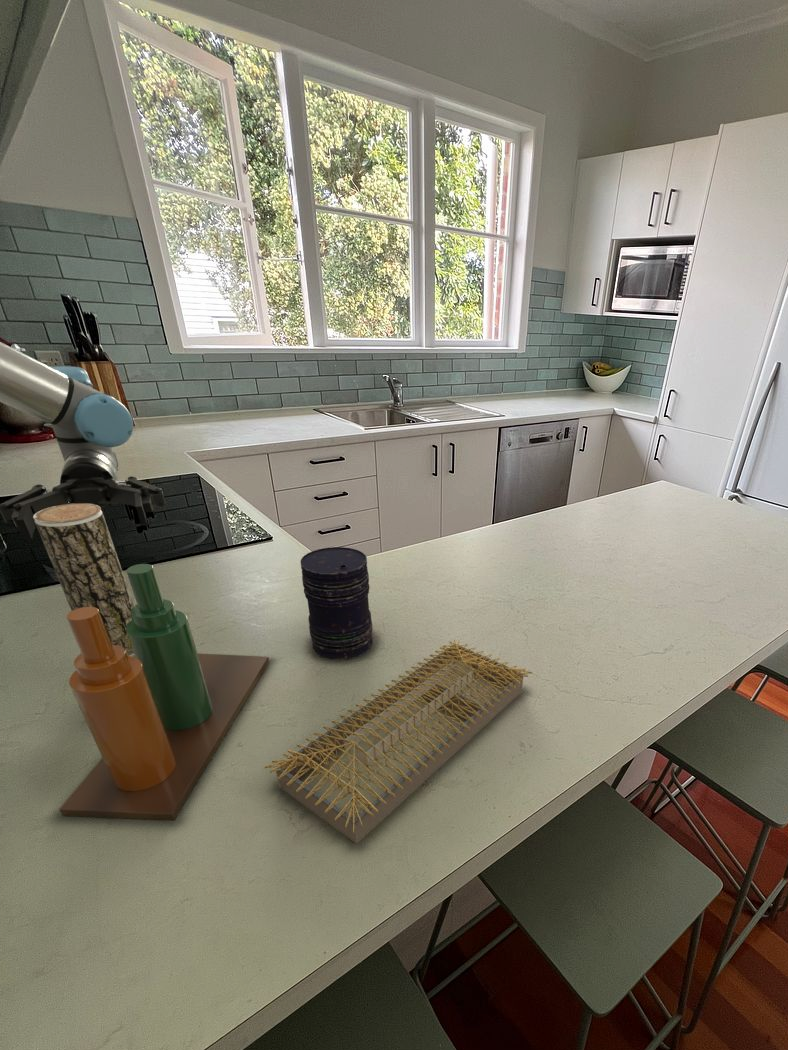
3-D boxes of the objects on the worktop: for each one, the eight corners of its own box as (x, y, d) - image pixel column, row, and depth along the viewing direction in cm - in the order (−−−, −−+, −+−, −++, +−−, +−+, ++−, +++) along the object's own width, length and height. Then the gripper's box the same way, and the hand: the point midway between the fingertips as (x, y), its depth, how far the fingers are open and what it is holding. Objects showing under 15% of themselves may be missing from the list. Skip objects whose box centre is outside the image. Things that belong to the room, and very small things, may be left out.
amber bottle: (101, 790, 60) (24, 629, 49) (133, 749, 65) (70, 595, 54) (159, 792, 60) (95, 632, 49) (186, 751, 66) (134, 598, 54)
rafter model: (453, 656, 87) (454, 623, 84) (530, 691, 80) (534, 657, 77) (268, 788, 63) (259, 749, 59) (356, 854, 56) (351, 814, 53)
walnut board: (62, 815, 58) (58, 809, 58) (191, 658, 83) (189, 652, 83) (174, 820, 58) (172, 814, 58) (269, 661, 84) (268, 656, 83)
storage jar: (301, 639, 89) (288, 556, 81) (354, 622, 95) (347, 542, 87) (329, 668, 83) (318, 580, 75) (384, 647, 88) (380, 563, 80)
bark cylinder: (165, 679, 79) (109, 513, 65) (113, 700, 74) (42, 527, 61) (145, 660, 82) (90, 499, 69) (95, 679, 78) (25, 511, 65)
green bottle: (148, 729, 68) (92, 579, 57) (173, 697, 74) (126, 555, 63) (199, 731, 69) (153, 582, 57) (220, 699, 74) (182, 558, 63)
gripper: (179, 493, 97) (191, 534, 82) (6, 511, 86) (-18, 563, 71) (168, 450, 93) (178, 485, 78) (-16, 464, 82) (-45, 507, 67)
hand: (85, 522), depth 74 cm, fingers open, 13 cm apart
